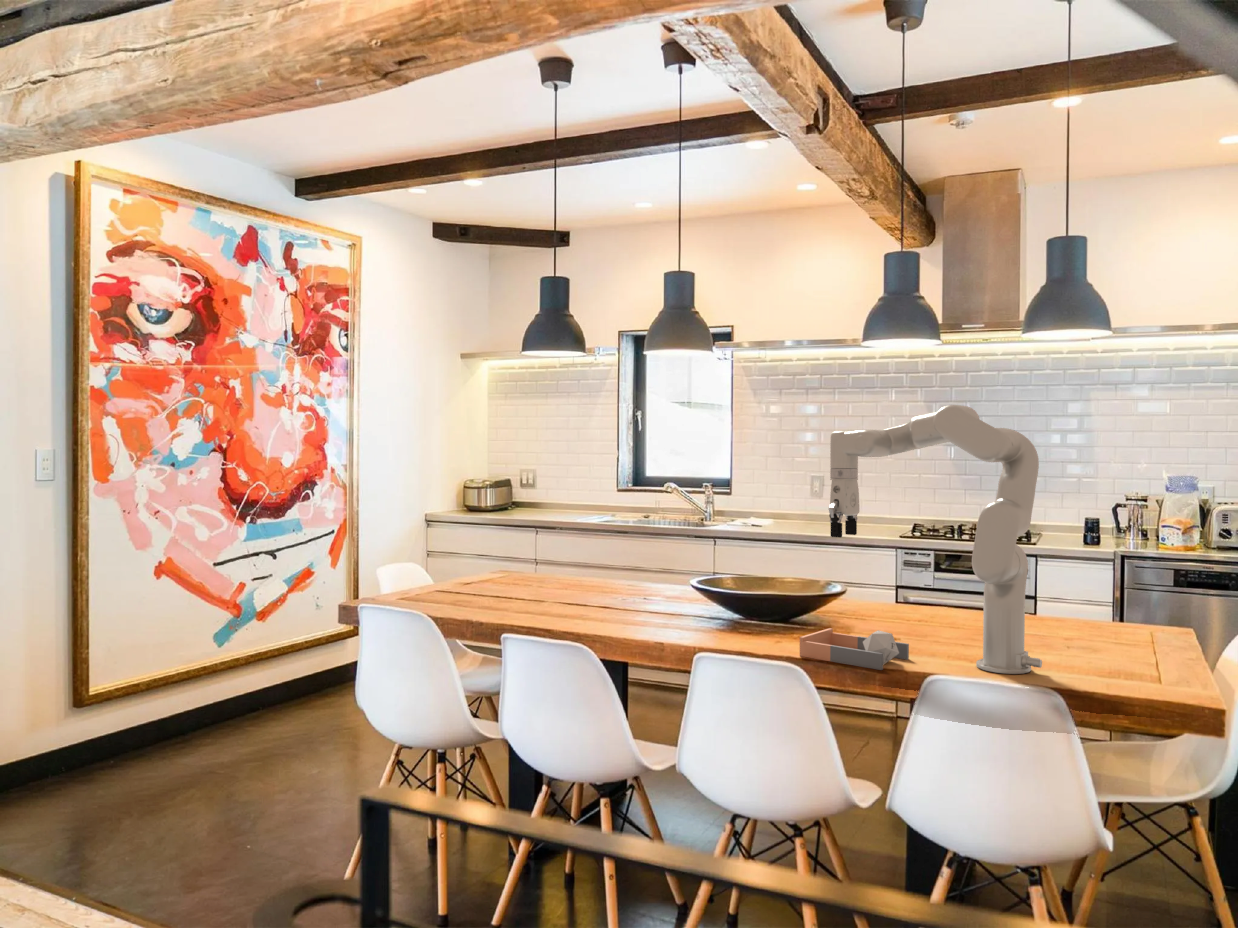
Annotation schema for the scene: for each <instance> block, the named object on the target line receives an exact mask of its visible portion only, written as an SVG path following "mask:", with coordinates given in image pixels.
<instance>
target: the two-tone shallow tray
mask: <svg viewBox="0 0 1238 928" xmlns="http://www.w3.org/2000/svg"><path fill="white" fill-rule="evenodd" d="M866 638H868V637H866V636H860V635H853V634H846V633H840V632H834V630H833V628H831V627H829V628H826V629H823V630H819V631H816V632H813V633H809V634H806V635H802V636H799V657H803V658H808V659H809V658H811V659H816V660H821V661H827V662H833V663H837V664H844V665H850V666H854V667H855V666H856V667H862V668H866V669H867V668H868V669H872V670H879V671H882V670H884V665H883V653H877V652H871V651H866V650H865V647H864V645H863V641H864V640H865V639H866ZM895 643H896V646H897V648H898V651H899V654H897V655H896V656H895V657H893V658H892V659H894V658H895V659H899V660H900V659H901V660H906V661H907V660H909V659H910V658H909V657H910V656H909V655H910V652H909V651H910V647H909V646H910V644H909V643H906V642H901V641H900V642H899V641H895Z"/></svg>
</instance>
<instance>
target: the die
mask: <svg viewBox="0 0 1238 928" xmlns="http://www.w3.org/2000/svg"><path fill="white" fill-rule="evenodd" d="M895 642H896V641H895V638H894V635H893V633H891V632H890V633H889V632H887V631H883V630H876V631H873V632H872V633H871V634H870V635H869V636H868V637H867V638H866V639H865V640H864V641H863V645H864V647H865V650H866V651H871V652H877V653H883V666H884V665H886V664H888V662H890V661H891V660H892V659H894V658H893V657H895V656H896V655H897V654H899V651H898V648H897V646H896V643H895Z"/></svg>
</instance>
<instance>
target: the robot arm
mask: <svg viewBox="0 0 1238 928" xmlns="http://www.w3.org/2000/svg"><path fill="white" fill-rule="evenodd" d="M829 443H830V444H829V445H830V453H829V454H830V459H829V460H830V465H829V468H830V472H829V473H830V474H829V475H830V476H829V477H830V478H829V480H830V481H831V484H830V494H829V495H830V498H829V507H828V513H829V523H830V537H831V538H843V523H842V519H843V517H844V516H845V518H846V519H845V522H844V523H845V524H844V529H845V533H844V534H845V535H846V536H847V535H848V536H851V535H852V536H856V535H857V533H858V532H857V531H858V529H857V528H858V524H857V522H858V514H859V513H860V493H859V492H860V491H859V482H858V480H859V457H861V458H882V457H888V456H892V455H896V454H902V453H907V452H910V451H914V450H920V449H923V448H927V447H933V446H937V445H940V444H941V445H942V444H947V443H951V444H953V445H955V446H956V447H957V448H959V449H961V450H963V451H965V452H966V453H968V454H970V455H971V456H973V457H975V458H976V459H978V460H981V461H983V462H986V463H1001V464H1002V470H1001V474H1000V476H999V481H998V486H997V492H996V498H995V500H994V501H992V502H990V503H989V504H987V505H986V506H985V507H984V508H983V509H982V510H981V512H980V514H979V517H978V520H977V525H976V531H975V537H974V542H973V549H972V553H971V554H972V555H971V566H972V570H973V573H974V575H975V576H976V577H977V578H978V579H979V581H981V582H983V583H984V588H983V589H984V590H983V618H982V619H983V620H982V621H983V622H982V623H983V624H982V625H983V626H982V627H983V628H982V630H983V634H982V635H983V637H982V639H983V640H982V641H983V644H982V645H983V646H982V658H980V659H977V660H976V662H975V663H976V665H975V667H977V668H978V669H980V670H982V671H986V672H989V673H996V674H1005V675H1006V674H1007V675H1018V674H1019V675H1023V674H1028V673H1030V672H1031V671H1032V667H1034V668H1040V669H1041V668H1042V666H1043V661H1042V659H1041V658H1038V657H1030V656H1029V651H1027V650H1025V632H1026V631H1025V621H1026V619H1025V616H1026V615H1025V611H1026V610H1025V608H1026V587H1027V586H1026V585H1027V579H1028V570H1029V569H1028V568H1029V563H1028V562H1029V561H1028V558H1027V557H1028V556H1027V555H1026V553H1025V551H1024V550H1023V548H1022V547H1020V545H1018V544H1017V540H1018V537H1021V536H1023V535H1025V534H1026V533H1027V531H1028V530H1029V529H1030V526H1031V522H1032V513H1033V507H1034V503H1035V502H1034V501H1035V496H1036V487H1037V483H1038V482H1037V481H1038V476H1039V468H1040V467H1039V465H1040V460H1039V455H1038V452H1037V449H1036V447H1035V446H1034V444H1033V443H1032V441H1031V440H1030V439H1029V438H1028V437H1026V436H1025V435H1024V434H1022V433H1021V432H1019V431H1016V430H1014V429H1012V428H1005V427H1003V428H1002V427H995V426H992V425H990V424H988V423H986V422H985V421H983V420H981V419H980V416H979V414H978V413H977V411H976V410H975V409H974V408H973V407H970V406H968V405H958V404H949V405H945V406H943V407H941V408H939V410H937V411H934V412H929V413H926V414H921V415H917V416H913V417H911V419H910V420H909V422H907V423H904V424H902V425H901V424H900V425H898V426H893V427H889V428H885V429H861V430H854V431H852V430H835V431H832V433H831V434H830V442H829Z"/></svg>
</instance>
